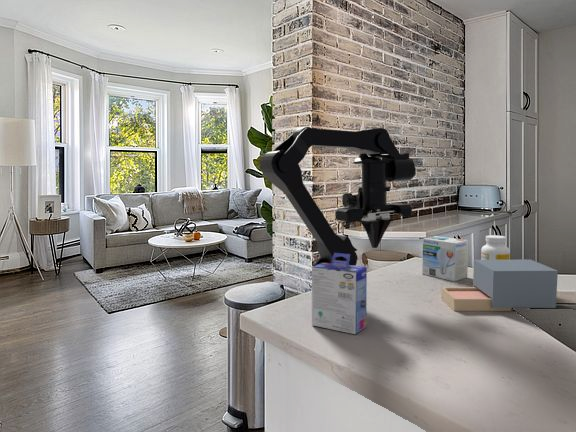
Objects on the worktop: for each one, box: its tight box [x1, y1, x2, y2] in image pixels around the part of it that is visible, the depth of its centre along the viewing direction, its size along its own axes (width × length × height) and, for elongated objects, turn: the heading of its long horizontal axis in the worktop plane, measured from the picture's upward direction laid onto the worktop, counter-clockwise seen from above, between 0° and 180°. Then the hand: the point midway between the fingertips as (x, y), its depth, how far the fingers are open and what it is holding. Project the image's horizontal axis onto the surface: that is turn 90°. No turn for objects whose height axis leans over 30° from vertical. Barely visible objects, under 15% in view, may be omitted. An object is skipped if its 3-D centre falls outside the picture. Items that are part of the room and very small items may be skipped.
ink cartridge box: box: [311, 253, 368, 335], centre depth 81 cm, size 10×6×14 cm, turn 57°
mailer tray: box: [440, 286, 512, 312], centre depth 93 cm, size 12×9×3 cm
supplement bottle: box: [480, 234, 511, 260], centre depth 107 cm, size 7×7×13 cm
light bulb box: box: [421, 235, 469, 282], centre depth 117 cm, size 11×7×11 cm, turn 37°
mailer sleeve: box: [472, 258, 559, 309], centre depth 92 cm, size 13×11×8 cm
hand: (374, 247), depth 99 cm, fingers closed
